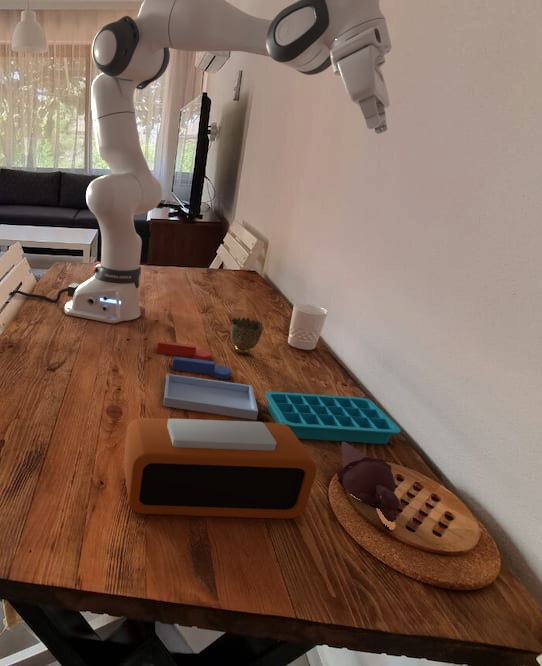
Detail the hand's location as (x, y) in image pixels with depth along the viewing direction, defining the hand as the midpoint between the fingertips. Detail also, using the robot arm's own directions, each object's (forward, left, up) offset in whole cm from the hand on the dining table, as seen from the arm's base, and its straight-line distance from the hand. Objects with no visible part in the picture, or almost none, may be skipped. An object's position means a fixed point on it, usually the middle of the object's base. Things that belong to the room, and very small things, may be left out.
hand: (378, 130), depth 81 cm
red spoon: (-28, +5, -50) cm, 58 cm away
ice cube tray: (-2, -18, -51) cm, 54 cm away
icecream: (-2, -37, -51) cm, 63 cm away
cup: (-14, +11, -51) cm, 54 cm away
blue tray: (-23, -15, -50) cm, 57 cm away
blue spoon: (-24, -3, -50) cm, 56 cm away
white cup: (+2, +21, -51) cm, 55 cm away
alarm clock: (-24, -43, -51) cm, 71 cm away
